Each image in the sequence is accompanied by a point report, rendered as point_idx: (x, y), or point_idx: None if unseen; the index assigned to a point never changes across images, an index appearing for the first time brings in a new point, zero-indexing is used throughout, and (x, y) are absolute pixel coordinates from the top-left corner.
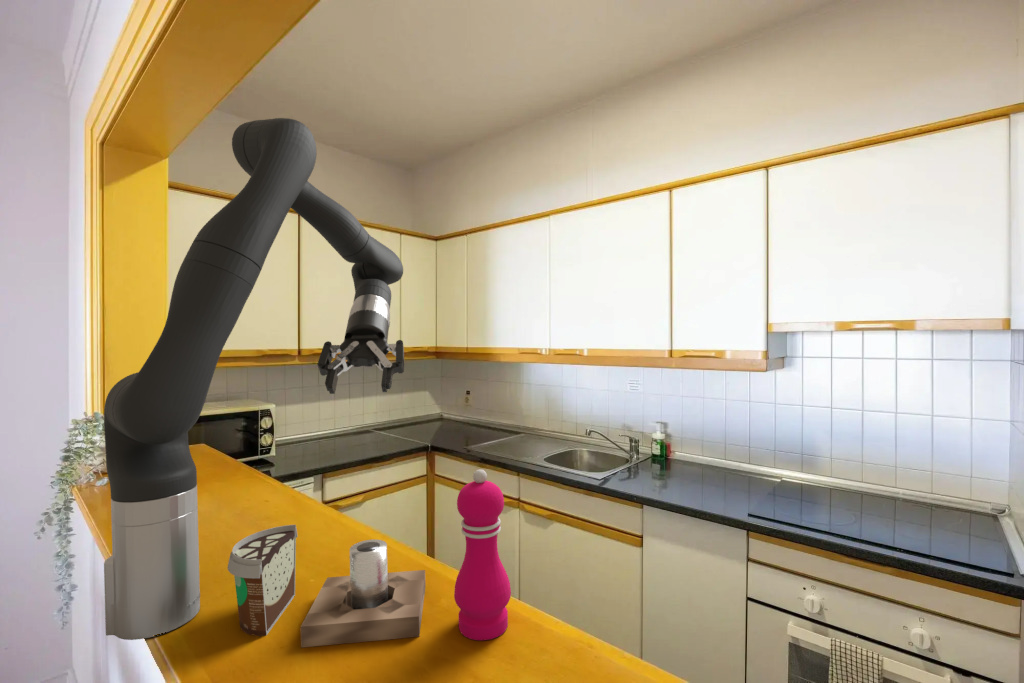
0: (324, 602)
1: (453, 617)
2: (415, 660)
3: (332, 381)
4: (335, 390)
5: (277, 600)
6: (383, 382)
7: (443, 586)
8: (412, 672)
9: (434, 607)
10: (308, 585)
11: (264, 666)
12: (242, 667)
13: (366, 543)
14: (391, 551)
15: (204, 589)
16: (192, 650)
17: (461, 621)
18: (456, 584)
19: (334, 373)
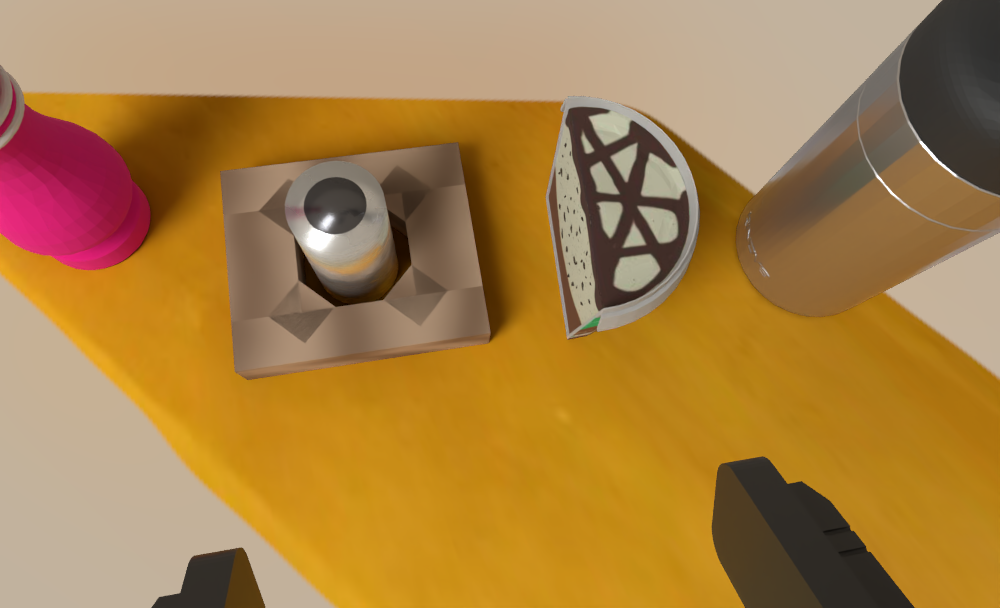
0: (447, 223)
1: (165, 252)
2: (229, 127)
3: (754, 494)
4: (734, 587)
5: (560, 235)
6: (211, 566)
7: (199, 382)
8: (230, 99)
9: (213, 289)
10: (559, 388)
11: (497, 117)
12: (535, 115)
13: (346, 224)
14: (394, 601)
15: (810, 369)
16: None
17: (133, 183)
18: (109, 160)
19: (812, 586)
